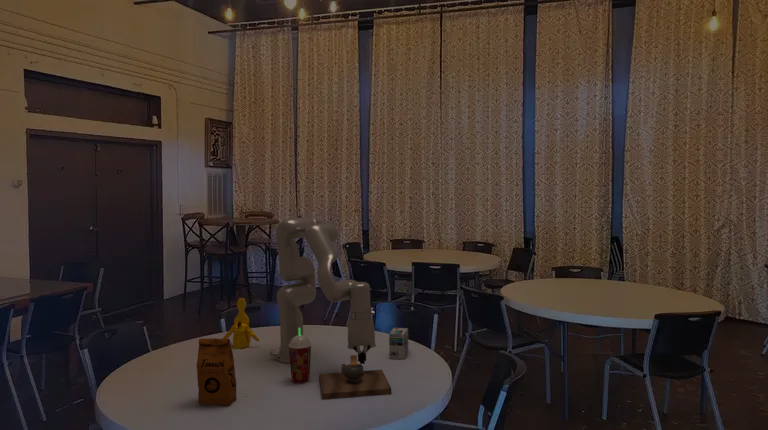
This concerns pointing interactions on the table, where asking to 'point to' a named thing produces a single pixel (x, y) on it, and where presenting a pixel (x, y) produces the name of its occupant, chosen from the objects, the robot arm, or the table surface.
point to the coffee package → (216, 372)
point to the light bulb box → (398, 343)
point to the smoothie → (300, 358)
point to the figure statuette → (241, 328)
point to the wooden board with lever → (353, 384)
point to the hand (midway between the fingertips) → (362, 362)
